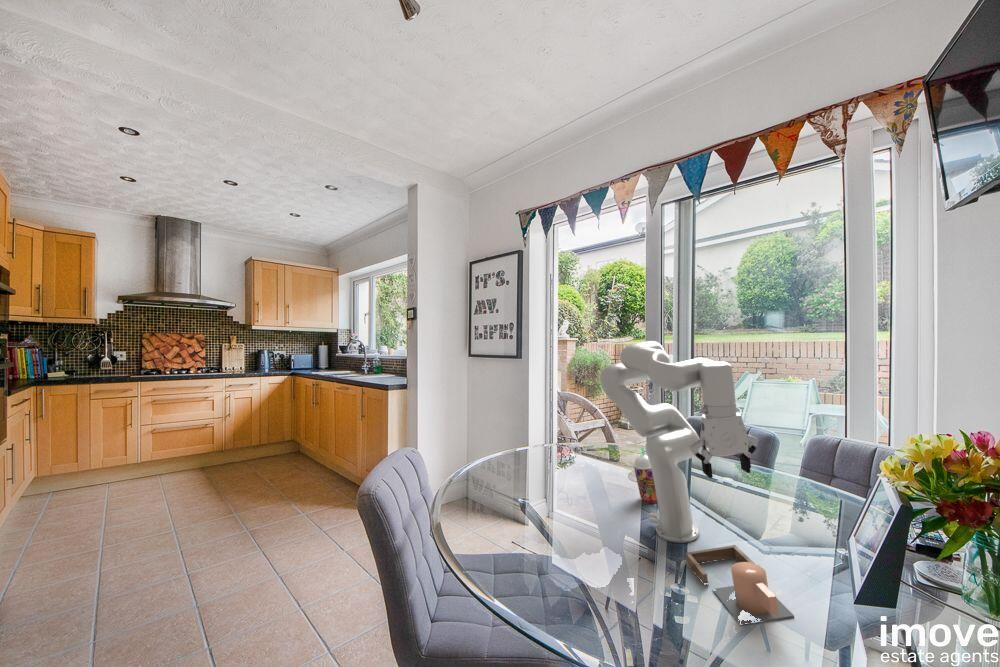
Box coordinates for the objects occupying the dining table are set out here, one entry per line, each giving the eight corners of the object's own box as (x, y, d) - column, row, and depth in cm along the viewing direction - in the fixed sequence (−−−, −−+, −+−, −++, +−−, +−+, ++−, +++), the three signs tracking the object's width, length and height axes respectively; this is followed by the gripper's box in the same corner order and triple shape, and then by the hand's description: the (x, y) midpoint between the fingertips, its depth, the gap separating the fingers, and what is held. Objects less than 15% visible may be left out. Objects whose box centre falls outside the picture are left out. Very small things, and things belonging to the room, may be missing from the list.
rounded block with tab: (730, 596, 100) (725, 564, 100) (758, 592, 100) (754, 560, 100) (761, 634, 88) (755, 597, 88) (794, 629, 88) (788, 592, 88)
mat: (712, 590, 103) (712, 589, 103) (760, 583, 103) (759, 581, 103) (740, 625, 92) (740, 624, 91) (794, 617, 91) (794, 615, 91)
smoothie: (650, 507, 150) (641, 453, 149) (634, 499, 157) (626, 448, 157) (667, 500, 153) (659, 447, 152) (650, 493, 161) (643, 442, 160)
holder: (687, 563, 116) (685, 552, 115) (736, 555, 115) (735, 544, 115) (704, 586, 106) (702, 574, 105) (759, 577, 105) (757, 565, 105)
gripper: (692, 418, 104) (700, 484, 105) (762, 408, 103) (769, 475, 104) (680, 410, 111) (687, 472, 112) (745, 401, 110) (752, 463, 112)
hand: (727, 473), depth 108 cm, fingers open, 9 cm apart
